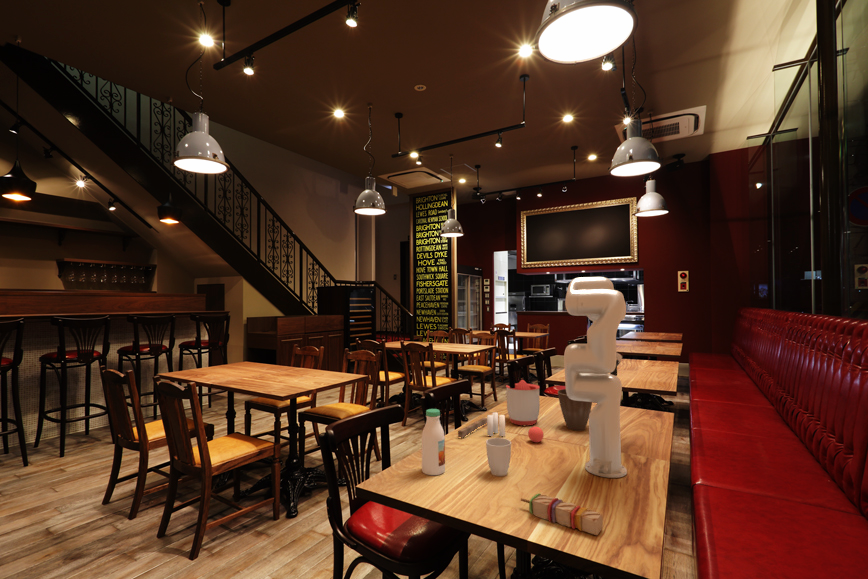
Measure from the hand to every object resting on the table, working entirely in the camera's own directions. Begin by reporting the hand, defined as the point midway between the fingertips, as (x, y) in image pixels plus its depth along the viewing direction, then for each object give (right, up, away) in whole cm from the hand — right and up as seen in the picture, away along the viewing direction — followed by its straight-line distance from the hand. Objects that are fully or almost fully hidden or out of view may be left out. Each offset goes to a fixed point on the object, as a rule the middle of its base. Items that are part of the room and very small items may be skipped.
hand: (604, 374), depth 168 cm
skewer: (-39, -24, -65) cm, 79 cm away
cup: (-49, -25, -36) cm, 66 cm away
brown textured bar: (-53, -27, +10) cm, 60 cm away
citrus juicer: (-29, -28, +23) cm, 46 cm away
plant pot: (-7, -27, +12) cm, 30 cm away
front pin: (-42, -26, +2) cm, 49 cm away
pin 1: (-47, -27, +3) cm, 54 cm away
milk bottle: (-71, -25, -34) cm, 82 cm away
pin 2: (-44, -27, +7) cm, 52 cm away
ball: (-30, -23, -5) cm, 38 cm away
